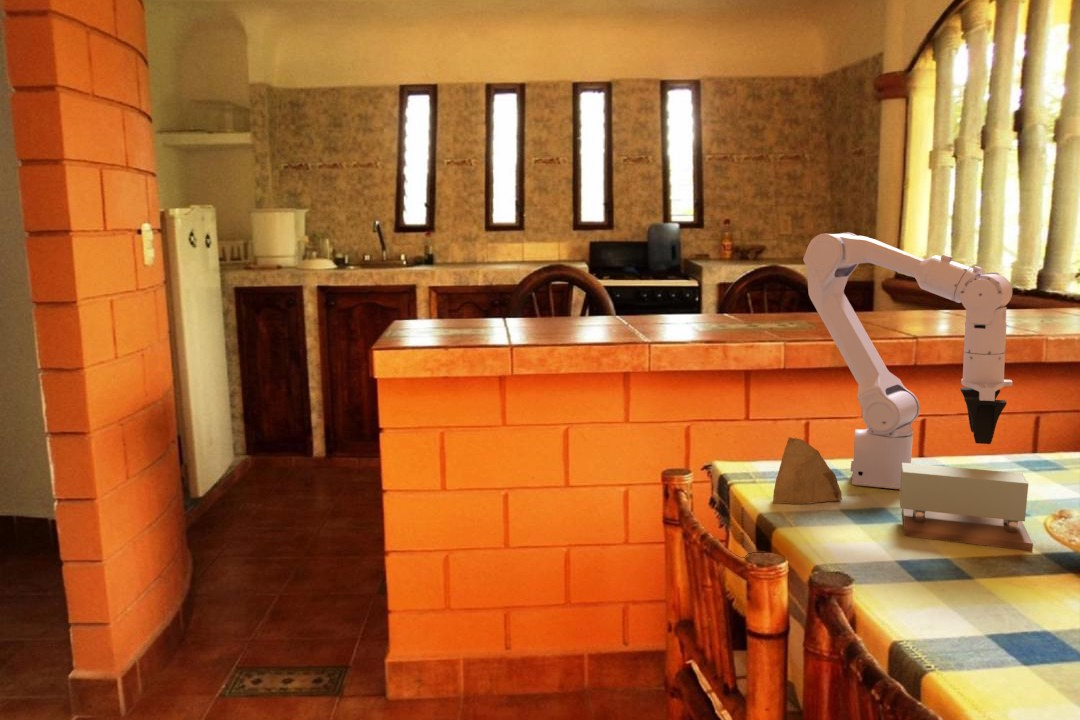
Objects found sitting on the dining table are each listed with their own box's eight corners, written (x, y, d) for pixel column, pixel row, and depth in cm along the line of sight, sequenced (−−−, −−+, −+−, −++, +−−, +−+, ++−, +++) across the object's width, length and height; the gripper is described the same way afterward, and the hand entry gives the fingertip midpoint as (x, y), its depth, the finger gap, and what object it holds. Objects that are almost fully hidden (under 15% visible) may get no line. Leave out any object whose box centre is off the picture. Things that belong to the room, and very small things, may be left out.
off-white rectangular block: (1019, 510, 125) (1022, 473, 124) (1024, 521, 121) (1028, 483, 120) (899, 497, 131) (901, 462, 130) (900, 508, 126) (903, 471, 125)
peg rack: (905, 535, 124) (906, 515, 123) (902, 511, 134) (903, 492, 133) (1032, 550, 118) (1034, 529, 118) (1019, 523, 128) (1021, 504, 128)
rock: (850, 480, 142) (790, 463, 147) (852, 448, 136) (789, 432, 141) (831, 534, 136) (768, 514, 141) (832, 503, 130) (767, 484, 135)
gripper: (1019, 359, 127) (1015, 450, 129) (1007, 346, 140) (1003, 428, 142) (966, 358, 129) (962, 447, 131) (959, 345, 143) (956, 426, 144)
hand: (980, 437), depth 137 cm, fingers open, 7 cm apart
